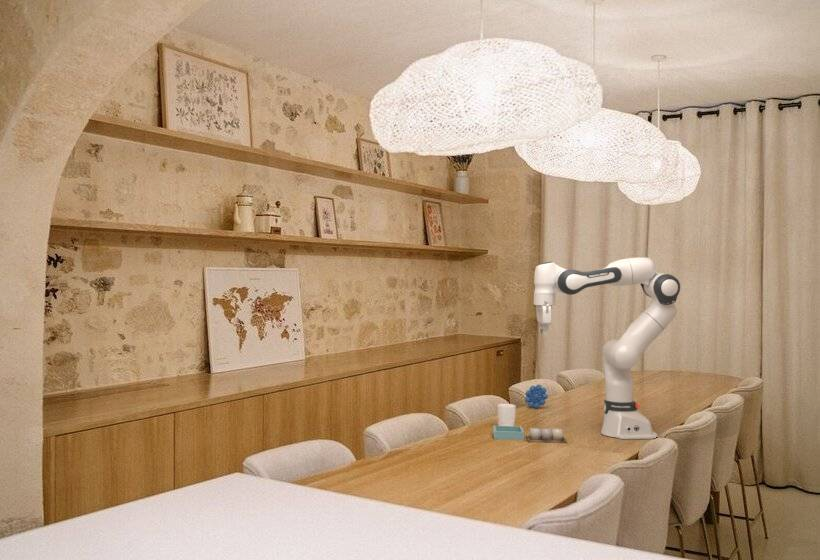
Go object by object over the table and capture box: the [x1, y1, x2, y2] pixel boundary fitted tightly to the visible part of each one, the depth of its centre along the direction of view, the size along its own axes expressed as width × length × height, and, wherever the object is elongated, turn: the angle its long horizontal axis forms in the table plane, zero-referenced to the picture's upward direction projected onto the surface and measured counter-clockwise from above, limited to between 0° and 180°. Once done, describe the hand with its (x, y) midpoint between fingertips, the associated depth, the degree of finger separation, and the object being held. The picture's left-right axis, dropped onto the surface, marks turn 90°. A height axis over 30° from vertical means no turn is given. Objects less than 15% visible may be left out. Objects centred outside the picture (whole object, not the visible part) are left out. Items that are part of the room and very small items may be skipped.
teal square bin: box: [492, 425, 525, 441], centre depth 299 cm, size 12×12×4 cm
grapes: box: [524, 383, 549, 409], centre depth 368 cm, size 12×7×12 cm, turn 64°
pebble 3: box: [551, 427, 563, 441], centre depth 293 cm, size 4×4×4 cm
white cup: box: [496, 403, 517, 426], centre depth 317 cm, size 8×8×10 cm
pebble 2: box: [540, 427, 552, 441], centre depth 293 cm, size 4×4×4 cm
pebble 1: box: [529, 427, 541, 440], centre depth 293 cm, size 4×4×4 cm
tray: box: [525, 435, 568, 444], centre depth 293 cm, size 15×8×1 cm, turn 87°
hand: (543, 334), depth 306 cm, fingers open, 8 cm apart
